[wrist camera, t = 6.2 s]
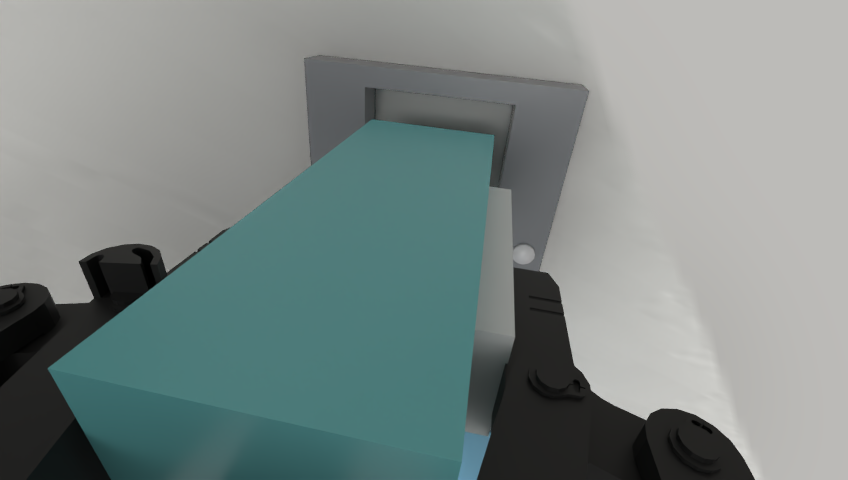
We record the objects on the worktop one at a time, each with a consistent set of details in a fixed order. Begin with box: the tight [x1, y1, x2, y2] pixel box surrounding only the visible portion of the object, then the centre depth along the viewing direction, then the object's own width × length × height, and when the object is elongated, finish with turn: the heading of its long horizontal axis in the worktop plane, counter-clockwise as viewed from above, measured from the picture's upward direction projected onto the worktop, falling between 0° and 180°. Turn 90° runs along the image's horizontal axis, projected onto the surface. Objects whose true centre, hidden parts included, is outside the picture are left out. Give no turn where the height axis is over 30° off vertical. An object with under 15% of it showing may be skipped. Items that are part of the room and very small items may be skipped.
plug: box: [48, 119, 495, 480], centre depth 9 cm, size 4×4×14 cm
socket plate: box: [304, 55, 589, 271], centre depth 19 cm, size 11×14×2 cm
